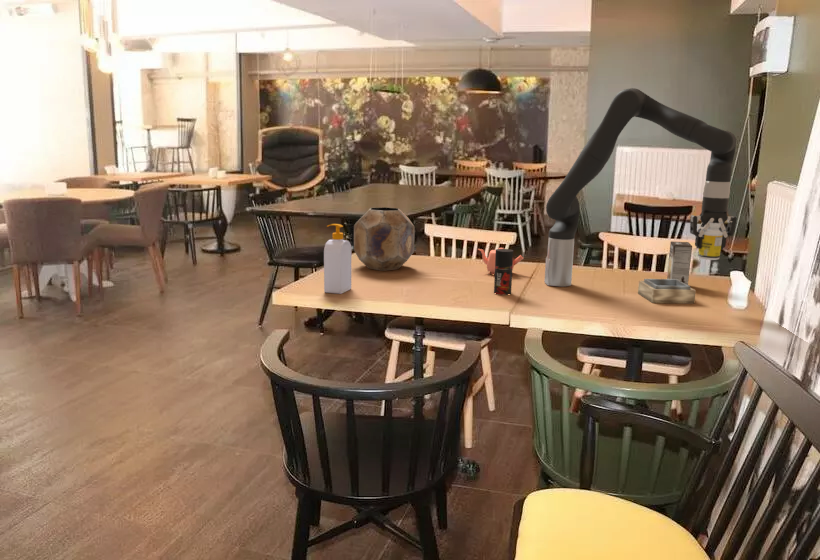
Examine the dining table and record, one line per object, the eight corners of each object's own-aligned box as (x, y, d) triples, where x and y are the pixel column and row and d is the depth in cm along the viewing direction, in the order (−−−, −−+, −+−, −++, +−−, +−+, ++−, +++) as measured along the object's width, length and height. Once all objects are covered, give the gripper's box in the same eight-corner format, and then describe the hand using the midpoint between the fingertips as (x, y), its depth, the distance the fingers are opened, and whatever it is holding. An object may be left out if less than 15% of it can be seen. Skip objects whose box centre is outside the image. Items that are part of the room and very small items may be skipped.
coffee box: (665, 283, 256) (670, 241, 253) (683, 284, 255) (688, 241, 252) (669, 288, 247) (674, 244, 244) (688, 289, 246) (693, 245, 243)
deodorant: (512, 292, 236) (514, 249, 233) (509, 295, 231) (511, 252, 228) (495, 290, 238) (497, 248, 235) (492, 294, 233) (494, 251, 229)
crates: (652, 302, 224) (653, 286, 223) (637, 293, 238) (639, 277, 237) (694, 303, 225) (696, 287, 224) (677, 293, 238) (679, 278, 237)
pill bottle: (693, 256, 220) (697, 220, 217) (712, 256, 220) (717, 221, 218) (703, 260, 213) (708, 223, 211) (723, 260, 214) (728, 223, 211)
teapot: (506, 269, 277) (507, 244, 275) (523, 274, 267) (525, 249, 265) (476, 272, 271) (477, 246, 268) (493, 277, 260) (494, 251, 258)
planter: (413, 273, 265) (414, 212, 260) (351, 272, 265) (351, 211, 260) (413, 263, 286) (415, 206, 282) (356, 261, 287) (356, 205, 282)
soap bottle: (333, 287, 239) (333, 222, 234) (351, 288, 237) (351, 223, 232) (322, 292, 230) (321, 225, 226) (340, 294, 228) (340, 226, 223)
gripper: (698, 196, 209) (692, 250, 212) (744, 197, 209) (737, 251, 212) (688, 194, 216) (682, 246, 220) (733, 195, 216) (726, 247, 220)
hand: (709, 248), depth 216 cm, fingers closed on pill bottle, 6 cm apart
